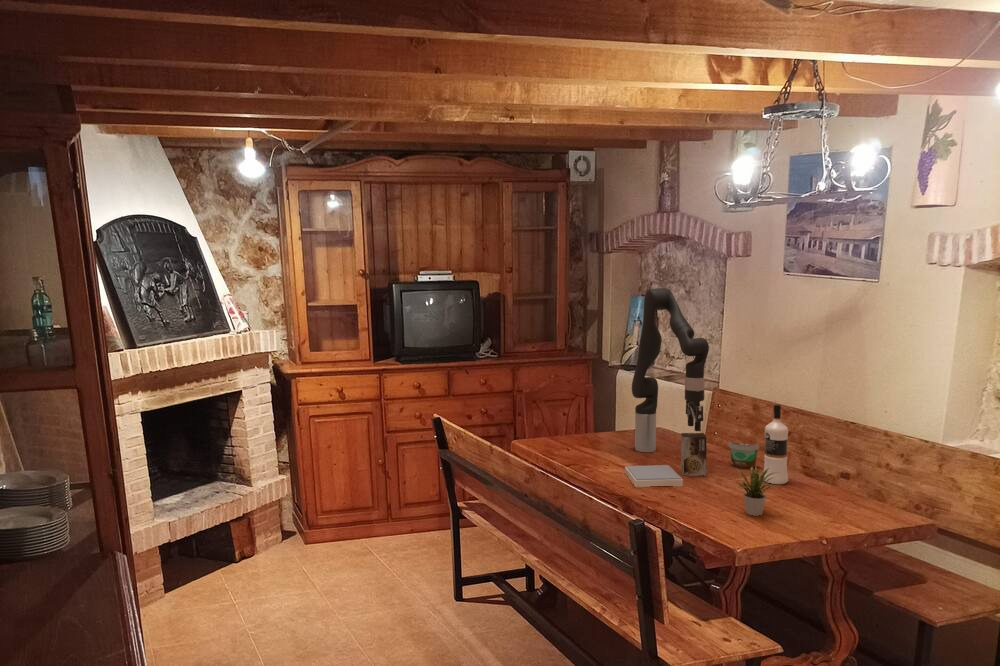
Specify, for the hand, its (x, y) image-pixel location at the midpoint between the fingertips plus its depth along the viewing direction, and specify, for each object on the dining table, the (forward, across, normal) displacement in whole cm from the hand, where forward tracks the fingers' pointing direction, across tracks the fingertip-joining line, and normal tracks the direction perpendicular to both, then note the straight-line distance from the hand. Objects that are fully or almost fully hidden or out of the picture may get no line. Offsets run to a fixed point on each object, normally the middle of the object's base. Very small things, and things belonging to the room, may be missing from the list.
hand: (694, 428), depth 278 cm
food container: (+19, -7, +23) cm, 31 cm away
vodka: (+19, +12, +28) cm, 36 cm away
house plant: (+19, +46, +7) cm, 50 cm away
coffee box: (+19, 0, 0) cm, 19 cm away
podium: (+18, +6, -18) cm, 26 cm away
